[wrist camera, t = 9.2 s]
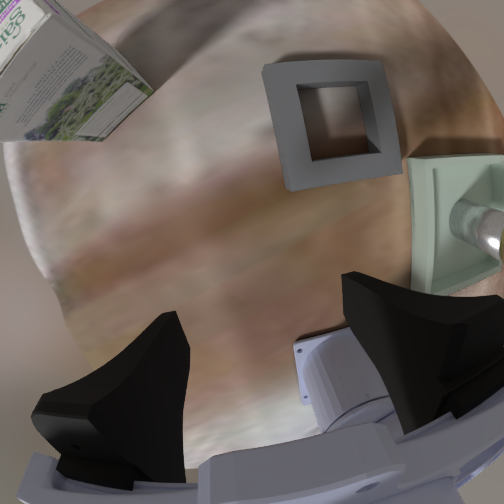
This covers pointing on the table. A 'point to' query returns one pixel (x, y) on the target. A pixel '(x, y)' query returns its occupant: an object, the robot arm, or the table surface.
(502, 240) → the pin
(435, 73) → the table surface
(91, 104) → the syrup box
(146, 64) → the table surface
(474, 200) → the tray
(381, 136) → the holder
